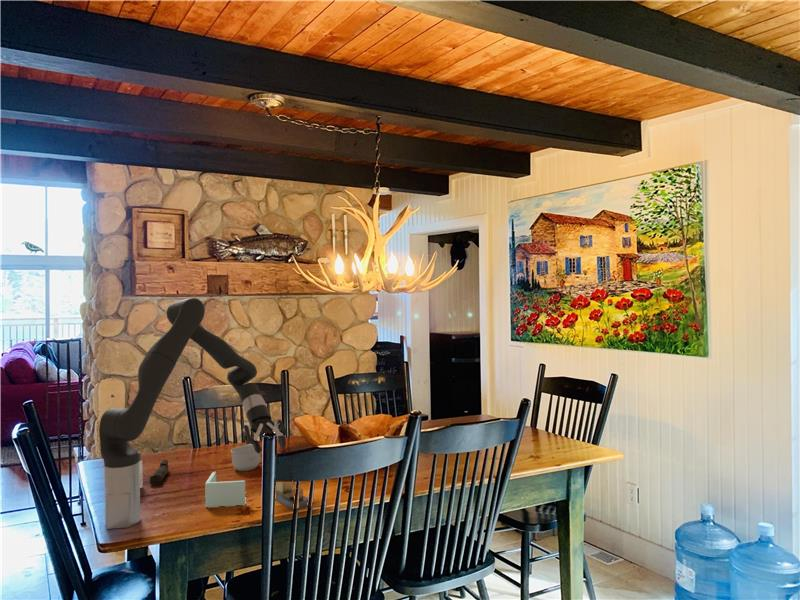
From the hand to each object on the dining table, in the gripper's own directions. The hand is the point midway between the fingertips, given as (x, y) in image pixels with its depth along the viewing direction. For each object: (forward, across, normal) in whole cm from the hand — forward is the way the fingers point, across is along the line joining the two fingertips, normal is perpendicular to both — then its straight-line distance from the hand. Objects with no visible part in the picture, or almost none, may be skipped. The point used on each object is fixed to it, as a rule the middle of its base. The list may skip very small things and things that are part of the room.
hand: (271, 449), depth 193 cm
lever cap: (+14, 0, +3) cm, 15 cm away
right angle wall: (+8, -14, +12) cm, 20 cm away
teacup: (-12, +5, +33) cm, 35 cm away
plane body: (+19, 0, +1) cm, 19 cm away
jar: (-16, -36, +36) cm, 53 cm away
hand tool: (-20, -24, +40) cm, 50 cm away
